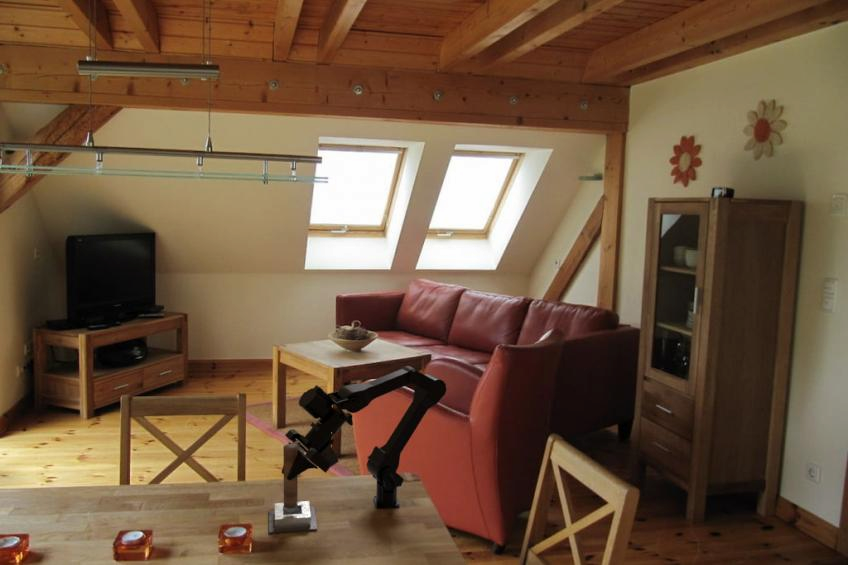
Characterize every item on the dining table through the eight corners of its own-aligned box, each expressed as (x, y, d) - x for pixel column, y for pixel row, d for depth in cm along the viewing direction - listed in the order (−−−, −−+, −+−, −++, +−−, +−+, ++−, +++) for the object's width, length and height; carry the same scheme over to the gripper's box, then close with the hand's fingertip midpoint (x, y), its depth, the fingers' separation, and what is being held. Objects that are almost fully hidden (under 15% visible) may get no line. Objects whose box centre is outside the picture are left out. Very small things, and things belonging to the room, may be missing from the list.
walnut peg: (285, 502, 183) (285, 443, 180) (298, 502, 183) (298, 444, 180) (282, 508, 179) (282, 449, 177) (296, 508, 179) (296, 449, 177)
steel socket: (268, 511, 188) (268, 500, 188) (314, 508, 191) (314, 498, 190) (268, 534, 177) (268, 522, 176) (316, 530, 179) (317, 519, 179)
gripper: (360, 457, 179) (320, 508, 175) (331, 433, 194) (293, 478, 191) (332, 433, 173) (289, 484, 170) (304, 410, 189) (265, 456, 185)
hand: (285, 476), depth 179 cm, fingers closed on walnut peg, 3 cm apart
